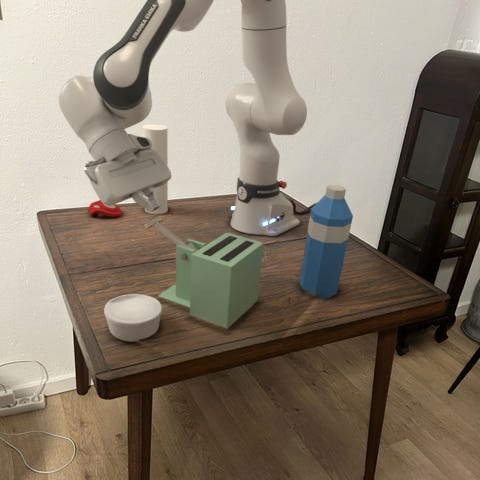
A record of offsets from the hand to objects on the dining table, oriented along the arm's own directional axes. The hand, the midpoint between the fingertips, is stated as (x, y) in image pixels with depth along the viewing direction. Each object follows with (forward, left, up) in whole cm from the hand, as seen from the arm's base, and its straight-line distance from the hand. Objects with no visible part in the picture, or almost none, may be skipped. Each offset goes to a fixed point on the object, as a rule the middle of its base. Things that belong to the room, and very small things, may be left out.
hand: (154, 210), depth 105 cm
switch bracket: (-3, +9, -19) cm, 21 cm away
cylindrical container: (-28, -42, -19) cm, 54 cm away
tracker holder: (-14, -48, -19) cm, 53 cm away
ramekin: (+13, +12, -19) cm, 26 cm away
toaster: (-6, +17, -19) cm, 26 cm away
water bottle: (-32, +22, -19) cm, 43 cm away
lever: (-2, +4, -6) cm, 8 cm away
